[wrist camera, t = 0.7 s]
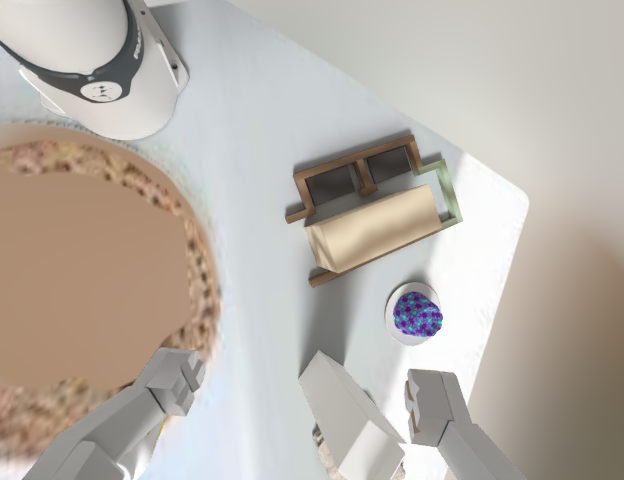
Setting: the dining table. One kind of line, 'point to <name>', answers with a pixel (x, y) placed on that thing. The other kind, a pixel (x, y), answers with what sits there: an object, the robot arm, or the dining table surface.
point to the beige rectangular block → (373, 228)
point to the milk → (350, 422)
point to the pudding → (413, 314)
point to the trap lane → (369, 185)
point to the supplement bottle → (140, 453)
